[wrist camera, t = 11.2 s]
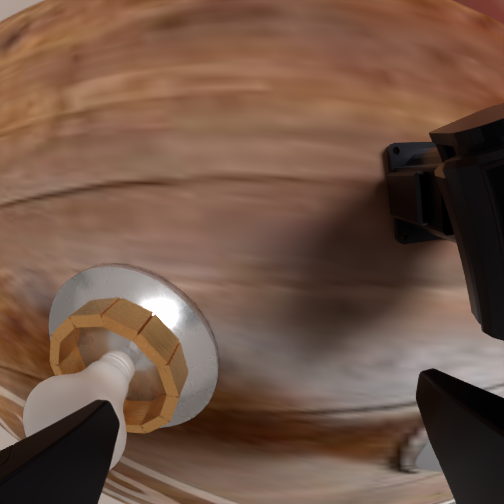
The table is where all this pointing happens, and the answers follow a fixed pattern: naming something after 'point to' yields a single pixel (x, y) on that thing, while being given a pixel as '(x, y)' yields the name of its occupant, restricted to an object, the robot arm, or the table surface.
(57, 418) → the lightbulb
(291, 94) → the table surface
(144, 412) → the wooden ring on plate
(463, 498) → the robot arm
